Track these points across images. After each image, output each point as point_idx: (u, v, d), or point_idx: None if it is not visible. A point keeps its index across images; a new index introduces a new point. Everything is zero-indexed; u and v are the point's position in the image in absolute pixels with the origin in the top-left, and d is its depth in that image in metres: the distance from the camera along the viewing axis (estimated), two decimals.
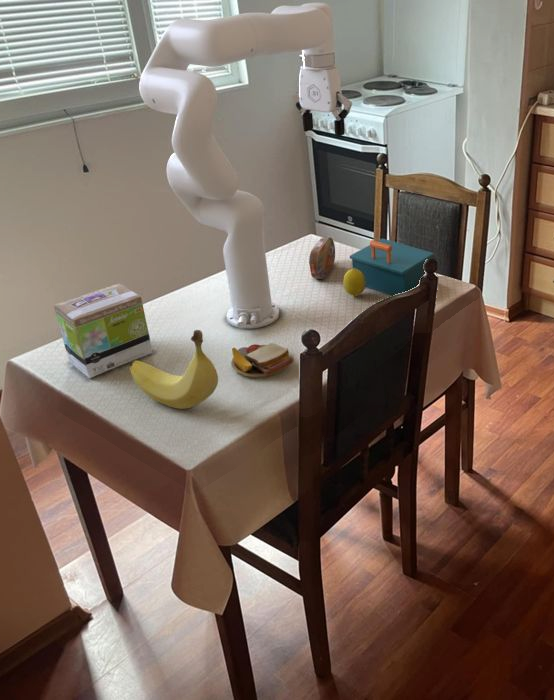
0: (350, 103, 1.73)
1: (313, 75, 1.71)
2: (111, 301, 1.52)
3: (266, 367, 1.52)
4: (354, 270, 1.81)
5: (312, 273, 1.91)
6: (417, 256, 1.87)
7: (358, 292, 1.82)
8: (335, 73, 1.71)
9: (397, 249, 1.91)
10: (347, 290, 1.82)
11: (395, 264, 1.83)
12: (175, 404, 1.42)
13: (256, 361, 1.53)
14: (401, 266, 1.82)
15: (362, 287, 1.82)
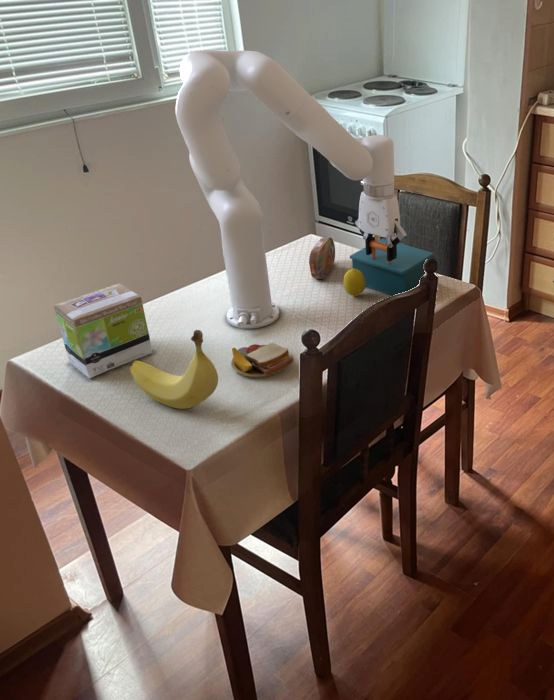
0: (405, 235, 1.77)
1: (373, 203, 1.74)
2: (111, 301, 1.52)
3: (266, 367, 1.52)
4: (354, 270, 1.81)
5: (312, 273, 1.91)
6: (417, 256, 1.87)
7: (358, 292, 1.82)
8: (394, 202, 1.74)
9: (397, 249, 1.91)
10: (347, 290, 1.82)
11: (395, 264, 1.83)
12: (175, 404, 1.42)
13: (256, 361, 1.53)
14: (401, 266, 1.82)
15: (362, 287, 1.82)
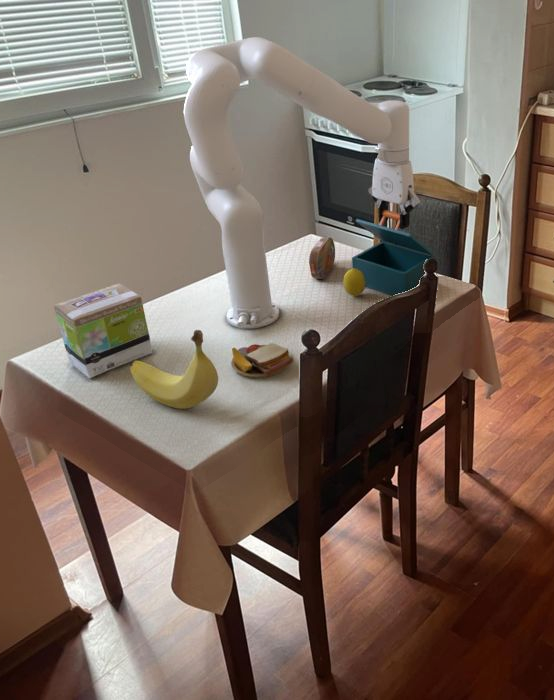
0: (418, 202, 1.77)
1: (387, 169, 1.75)
2: (111, 301, 1.52)
3: (266, 367, 1.52)
4: (354, 270, 1.81)
5: (312, 273, 1.91)
6: None
7: (358, 292, 1.82)
8: (408, 168, 1.74)
9: None
10: (347, 290, 1.82)
11: None
12: (175, 404, 1.42)
13: (256, 361, 1.53)
14: None
15: (362, 287, 1.82)
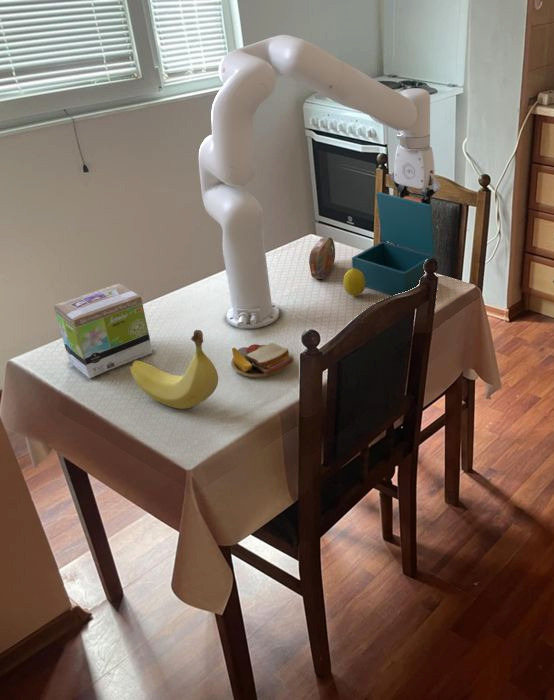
0: (439, 187, 1.83)
1: (409, 155, 1.81)
2: (111, 301, 1.52)
3: (266, 367, 1.52)
4: (354, 270, 1.81)
5: (312, 273, 1.91)
6: None
7: (358, 292, 1.82)
8: (429, 154, 1.80)
9: None
10: (347, 290, 1.82)
11: None
12: (175, 404, 1.42)
13: (256, 361, 1.53)
14: None
15: (362, 287, 1.82)
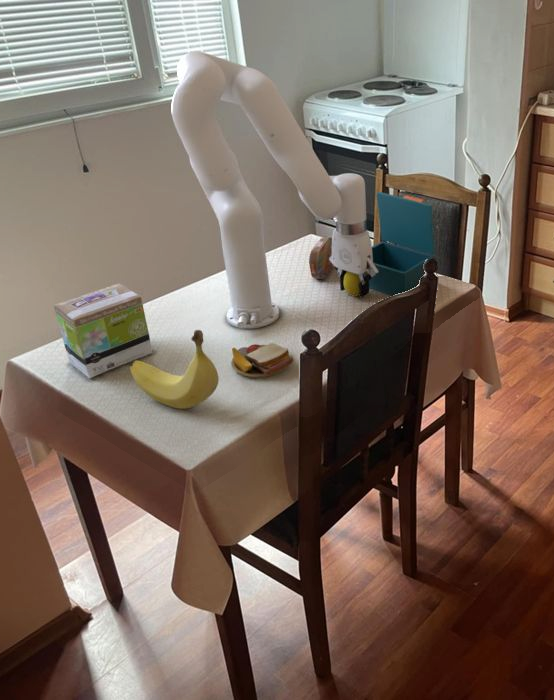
0: (377, 272, 1.77)
1: (345, 241, 1.75)
2: (111, 301, 1.52)
3: (266, 367, 1.52)
4: None
5: (312, 273, 1.91)
6: None
7: (358, 292, 1.82)
8: (366, 239, 1.74)
9: None
10: (347, 290, 1.82)
11: None
12: (176, 404, 1.42)
13: (256, 361, 1.53)
14: None
15: None
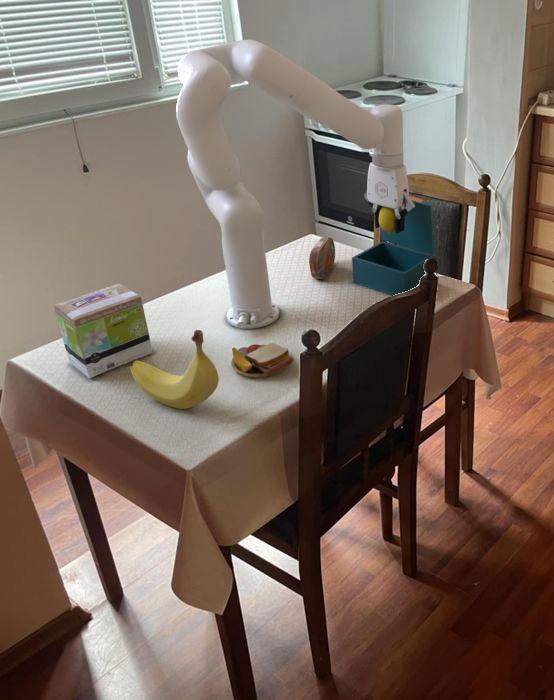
0: (413, 207, 1.76)
1: (382, 174, 1.74)
2: (111, 301, 1.52)
3: (266, 367, 1.52)
4: None
5: (312, 273, 1.91)
6: None
7: (393, 228, 1.81)
8: (403, 172, 1.73)
9: None
10: (382, 226, 1.81)
11: None
12: (176, 404, 1.42)
13: (256, 361, 1.53)
14: None
15: None
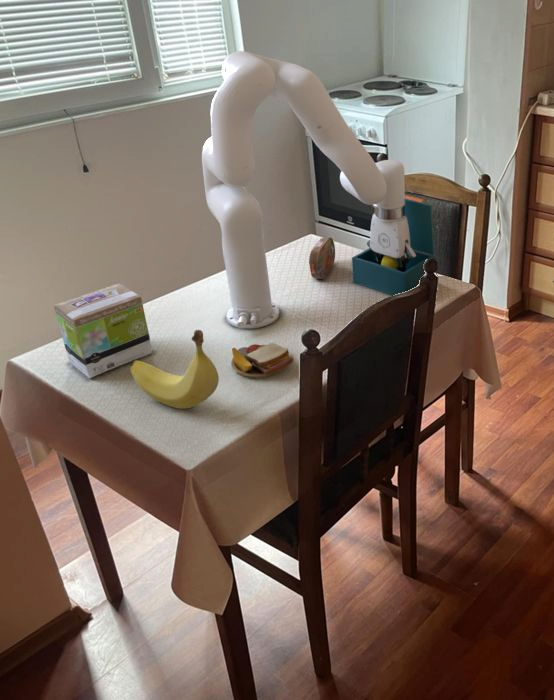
0: (414, 256, 1.83)
1: (384, 225, 1.81)
2: (111, 301, 1.52)
3: (266, 367, 1.52)
4: None
5: (312, 273, 1.91)
6: None
7: None
8: (404, 224, 1.80)
9: None
10: None
11: None
12: (176, 404, 1.42)
13: (256, 361, 1.53)
14: None
15: None
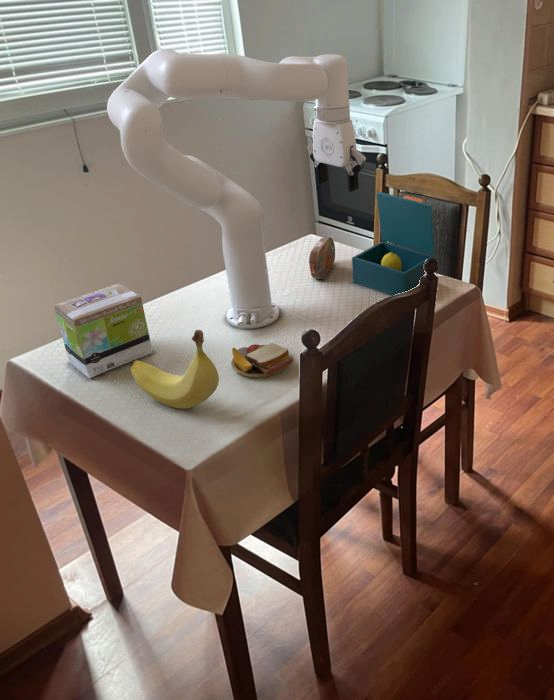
0: (364, 158, 1.65)
1: (327, 129, 1.64)
2: (111, 301, 1.52)
3: (266, 367, 1.52)
4: (391, 254, 1.87)
5: (312, 273, 1.91)
6: None
7: None
8: (349, 127, 1.63)
9: None
10: None
11: None
12: (176, 404, 1.42)
13: (256, 361, 1.53)
14: None
15: None
